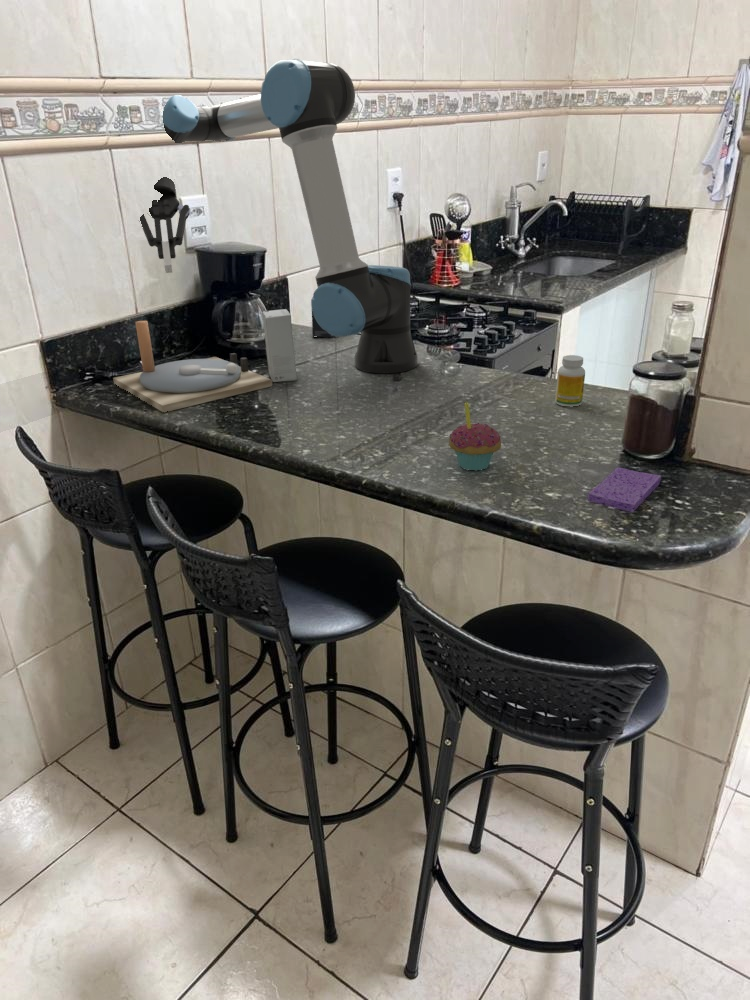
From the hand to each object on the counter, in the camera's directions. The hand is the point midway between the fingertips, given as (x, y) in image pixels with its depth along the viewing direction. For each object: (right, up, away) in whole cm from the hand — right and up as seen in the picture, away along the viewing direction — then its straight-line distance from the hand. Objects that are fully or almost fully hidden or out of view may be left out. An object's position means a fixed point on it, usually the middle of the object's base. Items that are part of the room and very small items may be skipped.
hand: (168, 269), depth 168 cm
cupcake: (+63, -47, -44) cm, 91 cm away
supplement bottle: (+86, -33, -17) cm, 94 cm away
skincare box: (+25, -24, +3) cm, 35 cm away
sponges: (+85, -52, -54) cm, 114 cm away
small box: (+33, -6, +40) cm, 52 cm away
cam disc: (+6, -25, -2) cm, 26 cm away
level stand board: (+6, -27, -1) cm, 27 cm away
